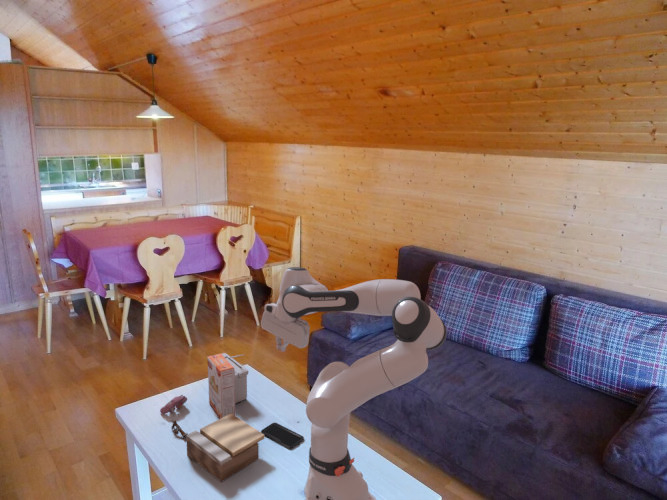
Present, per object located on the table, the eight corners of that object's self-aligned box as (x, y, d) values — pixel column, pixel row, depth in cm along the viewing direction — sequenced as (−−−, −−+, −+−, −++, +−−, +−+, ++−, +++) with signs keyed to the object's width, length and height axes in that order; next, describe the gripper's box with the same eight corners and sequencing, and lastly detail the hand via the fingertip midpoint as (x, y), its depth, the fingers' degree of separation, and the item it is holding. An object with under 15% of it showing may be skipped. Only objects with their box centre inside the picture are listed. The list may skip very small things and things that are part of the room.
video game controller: (165, 420, 184) (170, 408, 181) (158, 412, 186) (163, 400, 182) (185, 408, 192) (190, 396, 189) (178, 400, 194) (183, 388, 191)
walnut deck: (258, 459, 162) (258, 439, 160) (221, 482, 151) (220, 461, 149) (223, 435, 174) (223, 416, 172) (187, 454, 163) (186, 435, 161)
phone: (274, 421, 182) (305, 437, 173) (274, 424, 182) (305, 440, 173) (259, 431, 175) (290, 448, 167) (259, 434, 176) (290, 451, 167)
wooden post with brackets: (172, 425, 177) (175, 417, 175) (185, 441, 174) (188, 433, 172) (168, 427, 176) (170, 419, 174) (181, 443, 172) (183, 435, 170)
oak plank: (264, 438, 163) (264, 434, 163) (233, 456, 153) (233, 452, 153) (231, 417, 174) (231, 413, 174) (200, 432, 165) (200, 429, 164)
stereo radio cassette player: (208, 385, 207) (206, 341, 202) (225, 379, 212) (224, 337, 208) (231, 406, 192) (231, 360, 187) (250, 400, 197) (249, 354, 192)
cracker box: (208, 403, 193) (206, 355, 188) (222, 399, 196) (221, 352, 191) (220, 421, 182) (219, 370, 177) (236, 417, 185) (235, 367, 180)
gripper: (316, 321, 162) (308, 360, 164) (274, 301, 174) (267, 337, 176) (304, 324, 157) (295, 363, 159) (261, 303, 169) (254, 340, 171)
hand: (280, 349), depth 168 cm, fingers closed
